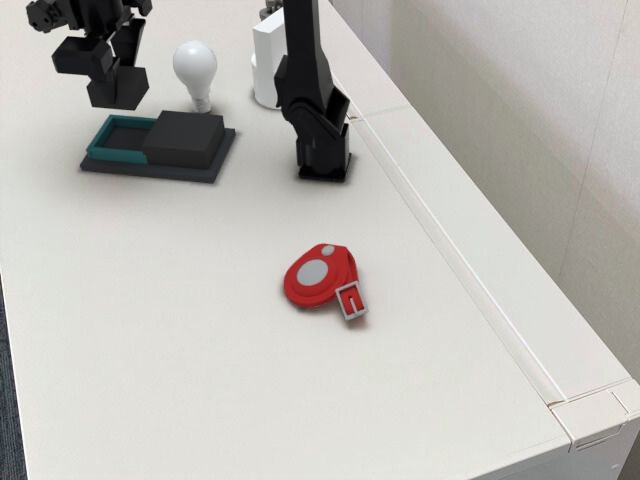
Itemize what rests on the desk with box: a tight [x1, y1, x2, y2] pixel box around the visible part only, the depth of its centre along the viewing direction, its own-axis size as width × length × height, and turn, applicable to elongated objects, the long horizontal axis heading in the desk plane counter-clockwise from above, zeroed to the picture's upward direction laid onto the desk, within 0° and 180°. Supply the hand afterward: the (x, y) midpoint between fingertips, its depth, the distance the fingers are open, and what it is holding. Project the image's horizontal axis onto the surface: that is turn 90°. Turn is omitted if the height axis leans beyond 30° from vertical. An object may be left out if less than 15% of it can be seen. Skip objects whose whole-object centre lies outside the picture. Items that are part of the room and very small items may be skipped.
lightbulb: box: [171, 39, 218, 114], centre depth 113 cm, size 6×6×11 cm
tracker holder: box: [282, 243, 370, 321], centre depth 90 cm, size 12×4×10 cm
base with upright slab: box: [250, 7, 287, 111], centre depth 116 cm, size 9×9×12 cm
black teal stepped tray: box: [79, 109, 237, 184], centre depth 109 cm, size 19×12×4 cm, turn 81°
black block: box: [86, 66, 150, 112], centre depth 103 cm, size 6×6×3 cm
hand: (120, 90), depth 103 cm, fingers closed on black block, 6 cm apart
